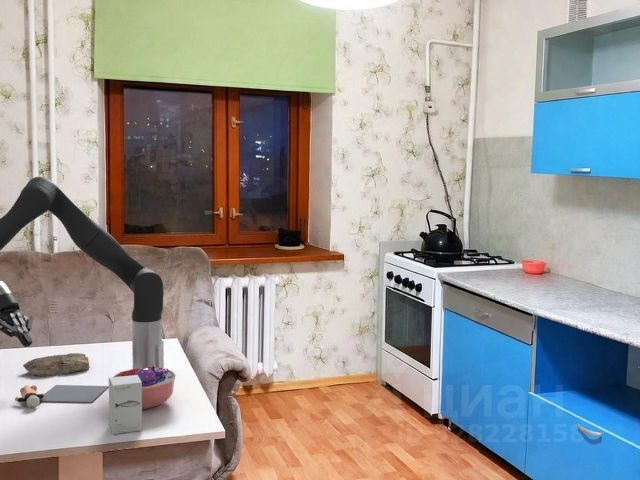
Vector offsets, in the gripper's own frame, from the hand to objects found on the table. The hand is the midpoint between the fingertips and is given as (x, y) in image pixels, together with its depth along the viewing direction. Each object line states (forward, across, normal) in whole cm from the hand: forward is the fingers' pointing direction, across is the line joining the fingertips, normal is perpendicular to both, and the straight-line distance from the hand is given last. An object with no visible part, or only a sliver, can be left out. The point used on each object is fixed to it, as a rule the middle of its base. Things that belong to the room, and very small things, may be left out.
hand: (28, 344), depth 198 cm
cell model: (+37, -4, +19) cm, 42 cm away
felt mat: (+20, -2, +2) cm, 20 cm away
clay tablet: (+4, -19, -14) cm, 23 cm away
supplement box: (+43, +11, +23) cm, 50 cm away
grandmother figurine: (+12, +4, -5) cm, 14 cm away
